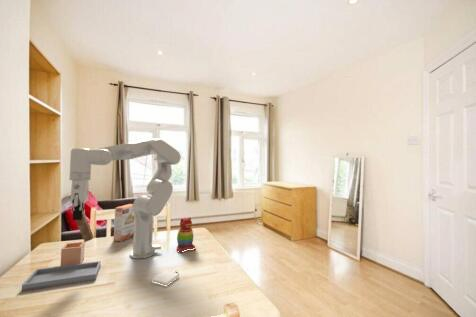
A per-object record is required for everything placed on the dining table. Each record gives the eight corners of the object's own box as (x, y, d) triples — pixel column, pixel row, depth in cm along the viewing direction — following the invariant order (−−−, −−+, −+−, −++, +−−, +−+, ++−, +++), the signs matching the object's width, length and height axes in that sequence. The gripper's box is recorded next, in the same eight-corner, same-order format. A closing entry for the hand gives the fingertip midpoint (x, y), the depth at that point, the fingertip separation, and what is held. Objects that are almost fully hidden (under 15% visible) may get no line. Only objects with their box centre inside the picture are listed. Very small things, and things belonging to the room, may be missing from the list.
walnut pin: (93, 238, 101) (93, 203, 101) (92, 241, 98) (92, 204, 98) (72, 241, 98) (73, 204, 98) (70, 243, 95) (71, 205, 95)
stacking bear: (178, 253, 124) (180, 221, 124) (173, 247, 132) (174, 217, 132) (197, 250, 130) (198, 219, 130) (190, 244, 138) (191, 215, 138)
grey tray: (100, 266, 106) (100, 261, 106) (95, 279, 94) (95, 274, 94) (36, 275, 97) (36, 269, 97) (21, 291, 85) (21, 284, 85)
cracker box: (121, 242, 137) (122, 208, 138) (113, 241, 139) (114, 207, 139) (136, 234, 151) (137, 204, 151) (128, 234, 152) (129, 203, 153)
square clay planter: (83, 259, 113) (84, 241, 113) (80, 266, 106) (81, 247, 106) (65, 261, 110) (66, 243, 110) (60, 268, 103) (61, 249, 103)
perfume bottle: (151, 278, 94) (169, 266, 105) (151, 283, 94) (169, 270, 105) (166, 283, 91) (183, 270, 102) (166, 288, 91) (183, 274, 102)
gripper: (86, 178, 92) (84, 223, 91) (93, 175, 107) (92, 213, 106) (63, 178, 89) (61, 224, 88) (74, 175, 103) (73, 214, 103)
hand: (78, 218), depth 97 cm, fingers closed on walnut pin, 3 cm apart
